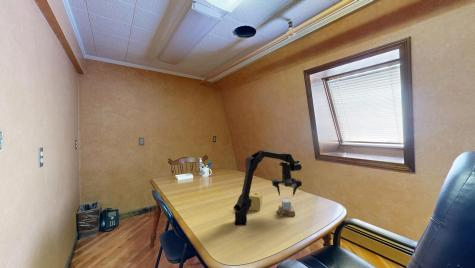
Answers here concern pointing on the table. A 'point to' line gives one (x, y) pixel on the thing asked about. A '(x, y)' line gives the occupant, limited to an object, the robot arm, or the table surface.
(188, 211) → the table surface
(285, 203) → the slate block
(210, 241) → the table surface
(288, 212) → the pedestal
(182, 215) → the table surface
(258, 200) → the cheese
